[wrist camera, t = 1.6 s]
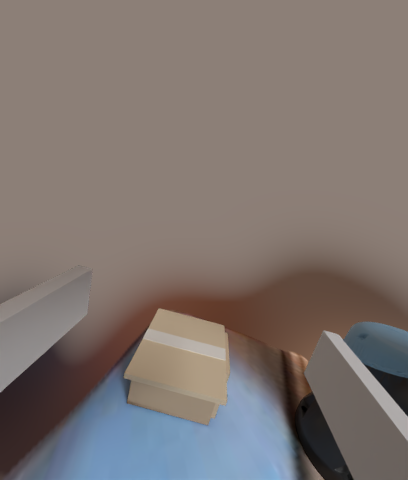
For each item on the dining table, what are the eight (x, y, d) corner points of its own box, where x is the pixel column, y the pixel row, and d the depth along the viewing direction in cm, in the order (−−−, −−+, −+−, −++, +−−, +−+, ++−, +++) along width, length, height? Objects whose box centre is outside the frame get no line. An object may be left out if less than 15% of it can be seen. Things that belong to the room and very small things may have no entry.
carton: (214, 373, 43) (227, 330, 40) (212, 426, 33) (230, 374, 30) (147, 355, 43) (157, 312, 40) (126, 403, 33) (137, 349, 31)
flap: (223, 328, 40) (224, 325, 40) (225, 405, 26) (227, 400, 25) (158, 311, 40) (158, 307, 40) (123, 378, 26) (124, 372, 26)
